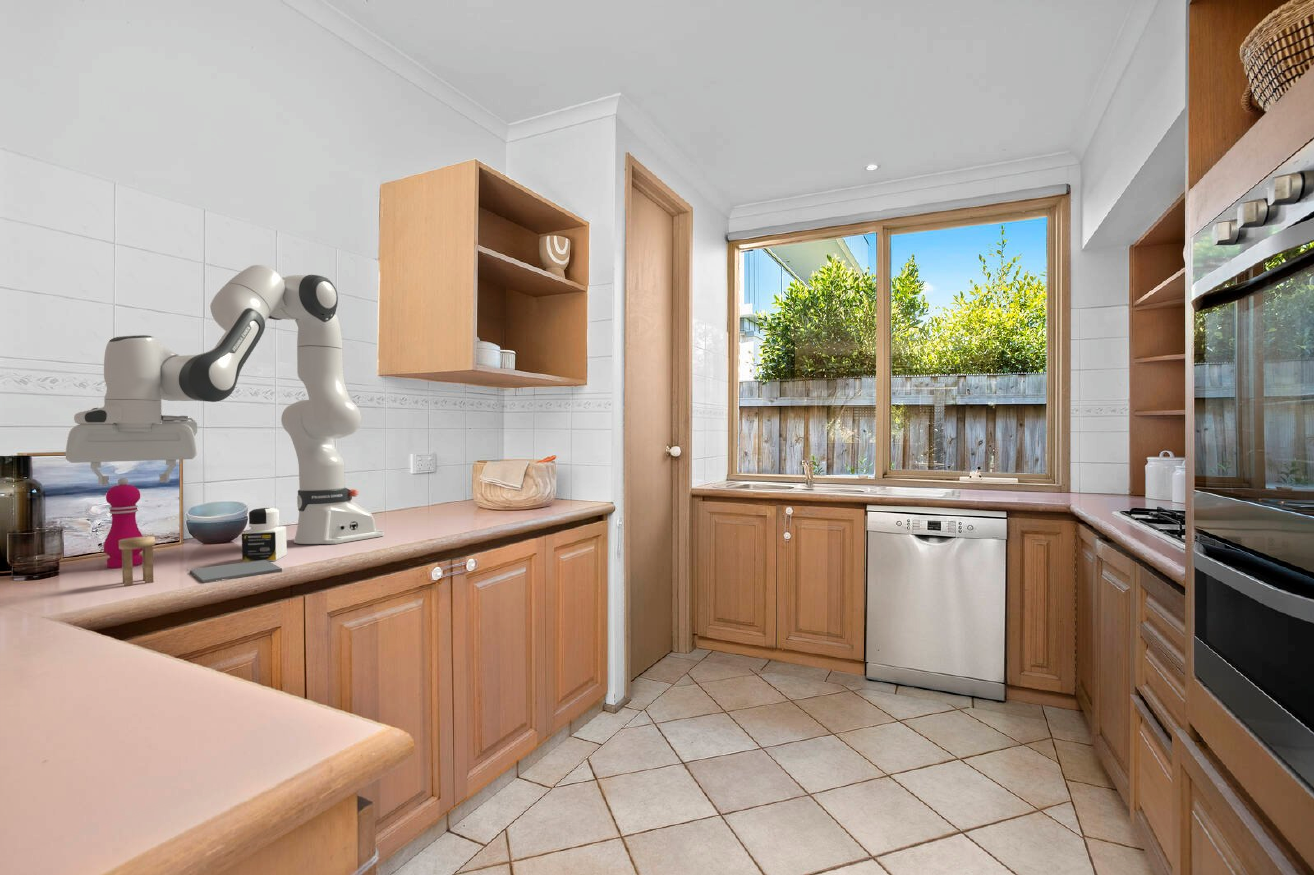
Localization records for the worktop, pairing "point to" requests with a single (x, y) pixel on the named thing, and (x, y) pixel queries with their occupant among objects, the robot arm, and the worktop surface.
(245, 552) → the medicine bottle
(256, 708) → the worktop surface
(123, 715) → the worktop surface
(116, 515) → the pepper mill
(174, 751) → the worktop surface
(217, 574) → the mat
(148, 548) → the stool
